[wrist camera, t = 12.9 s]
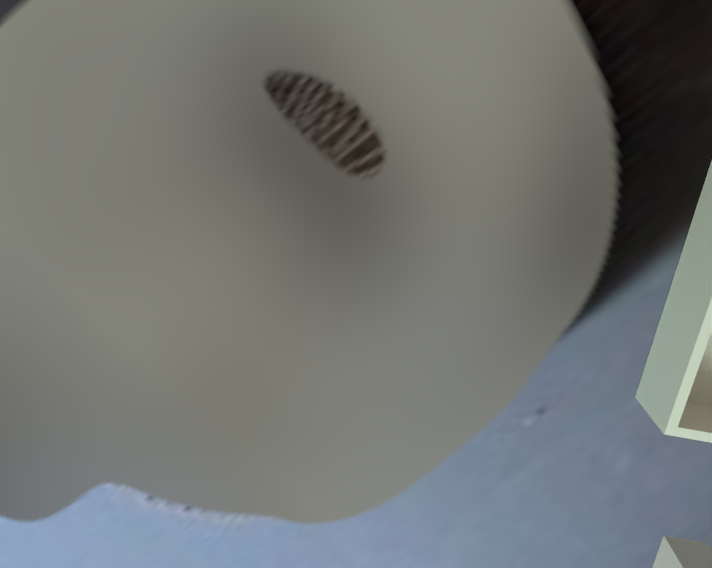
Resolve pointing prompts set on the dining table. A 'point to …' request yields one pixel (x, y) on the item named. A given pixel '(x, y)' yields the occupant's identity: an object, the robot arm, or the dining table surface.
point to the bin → (685, 339)
